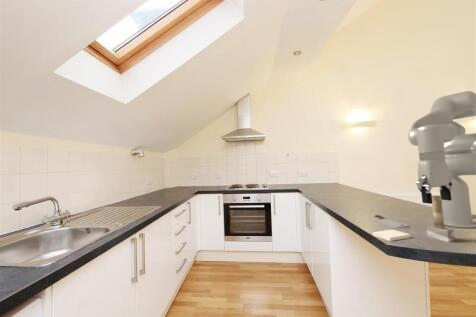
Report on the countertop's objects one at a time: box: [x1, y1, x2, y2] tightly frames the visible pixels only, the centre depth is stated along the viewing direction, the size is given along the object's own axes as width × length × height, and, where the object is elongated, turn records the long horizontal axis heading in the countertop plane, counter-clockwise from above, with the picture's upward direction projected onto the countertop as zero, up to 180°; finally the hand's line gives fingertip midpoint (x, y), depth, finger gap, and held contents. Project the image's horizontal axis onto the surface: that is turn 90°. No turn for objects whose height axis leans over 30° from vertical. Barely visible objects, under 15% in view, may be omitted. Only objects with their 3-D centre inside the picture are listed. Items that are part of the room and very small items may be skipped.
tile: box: [372, 228, 412, 242], centre depth 89 cm, size 2×8×10 cm
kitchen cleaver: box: [374, 214, 409, 229], centre depth 112 cm, size 24×1×10 cm
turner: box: [426, 194, 455, 243], centre depth 84 cm, size 3×7×16 cm, turn 15°
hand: (437, 201), depth 84 cm, fingers open, 9 cm apart
